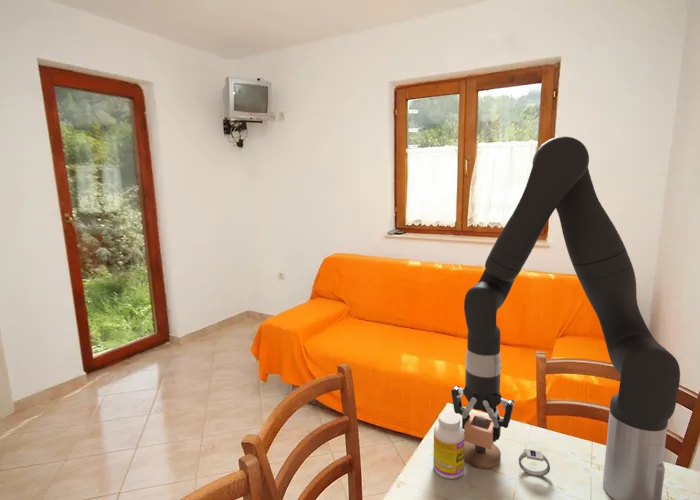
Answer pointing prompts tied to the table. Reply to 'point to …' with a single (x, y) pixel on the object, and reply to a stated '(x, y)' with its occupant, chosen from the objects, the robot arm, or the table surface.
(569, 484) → the table surface
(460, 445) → the supplement bottle
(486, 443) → the pink hollow square block
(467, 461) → the post stand
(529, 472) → the wristwatch
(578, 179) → the robot arm
